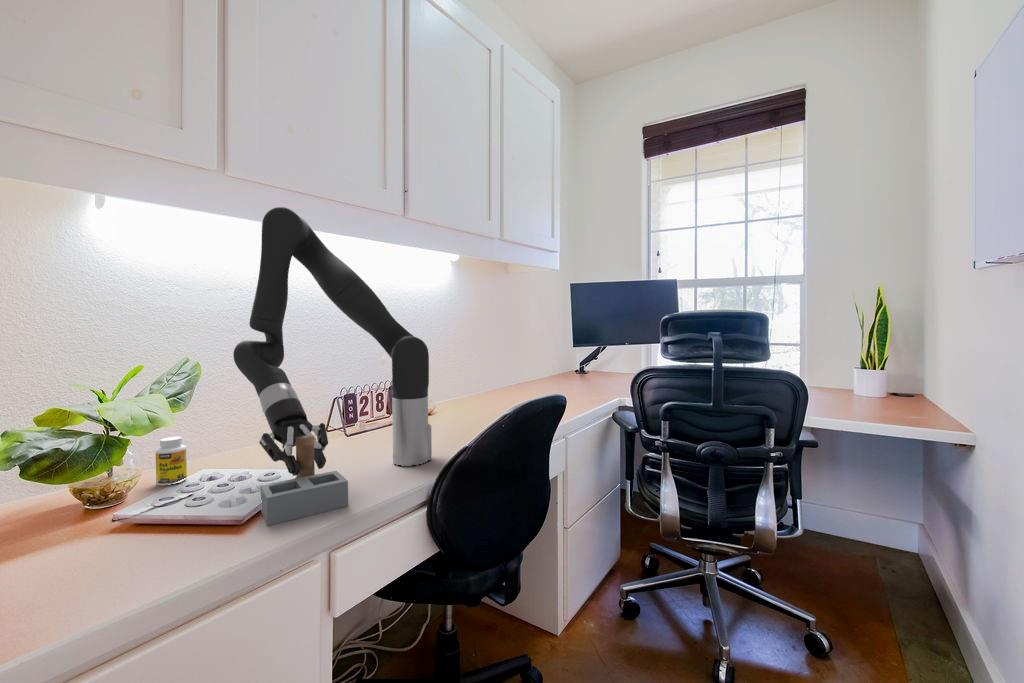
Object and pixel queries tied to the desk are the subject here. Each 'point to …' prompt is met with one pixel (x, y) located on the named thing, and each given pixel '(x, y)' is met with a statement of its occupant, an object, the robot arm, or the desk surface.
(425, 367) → the robot arm
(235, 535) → the desk surface
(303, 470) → the walnut pin
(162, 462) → the supplement bottle
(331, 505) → the bore block
